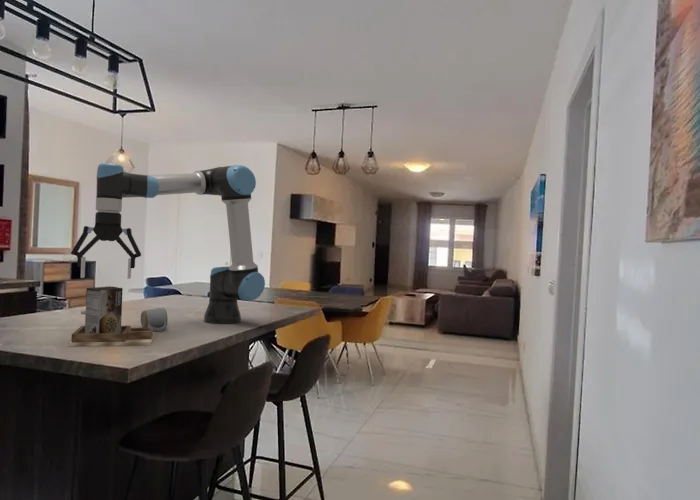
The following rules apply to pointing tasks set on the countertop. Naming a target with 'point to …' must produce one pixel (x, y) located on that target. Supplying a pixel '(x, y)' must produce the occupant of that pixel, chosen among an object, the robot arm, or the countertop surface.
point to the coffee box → (103, 310)
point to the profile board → (113, 337)
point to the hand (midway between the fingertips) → (106, 278)
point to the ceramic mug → (154, 319)
